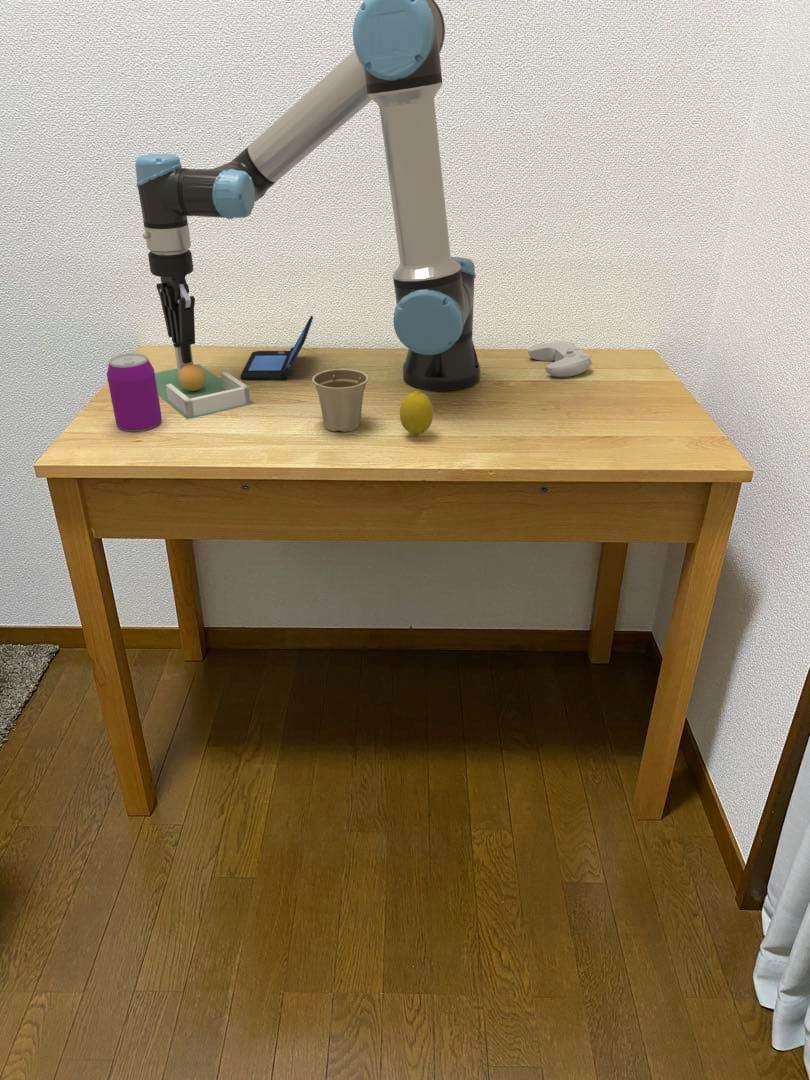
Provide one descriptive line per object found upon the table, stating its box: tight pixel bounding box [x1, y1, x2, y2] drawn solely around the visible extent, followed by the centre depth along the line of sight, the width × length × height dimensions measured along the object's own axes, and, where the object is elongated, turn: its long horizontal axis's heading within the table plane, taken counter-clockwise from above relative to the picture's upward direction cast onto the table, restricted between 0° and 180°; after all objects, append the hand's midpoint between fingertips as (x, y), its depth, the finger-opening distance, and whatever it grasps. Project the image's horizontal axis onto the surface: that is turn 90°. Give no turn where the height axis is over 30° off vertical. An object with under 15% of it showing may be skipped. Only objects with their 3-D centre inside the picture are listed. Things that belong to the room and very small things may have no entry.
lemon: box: [399, 390, 434, 437], centre depth 142 cm, size 6×6×8 cm
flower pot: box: [311, 368, 369, 433], centre depth 145 cm, size 9×9×9 cm
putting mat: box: [154, 363, 255, 420], centre depth 162 cm, size 26×13×1 cm, turn 34°
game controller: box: [527, 340, 593, 378], centre depth 172 cm, size 14×4×10 cm
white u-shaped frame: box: [166, 371, 252, 418], centre depth 155 cm, size 10×12×3 cm
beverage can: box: [106, 352, 163, 432], centre depth 145 cm, size 8×8×12 cm
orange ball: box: [179, 363, 206, 391], centre depth 160 cm, size 5×5×5 cm
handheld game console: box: [239, 315, 314, 382], centre depth 170 cm, size 16×13×9 cm
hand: (186, 377), depth 162 cm, fingers closed
